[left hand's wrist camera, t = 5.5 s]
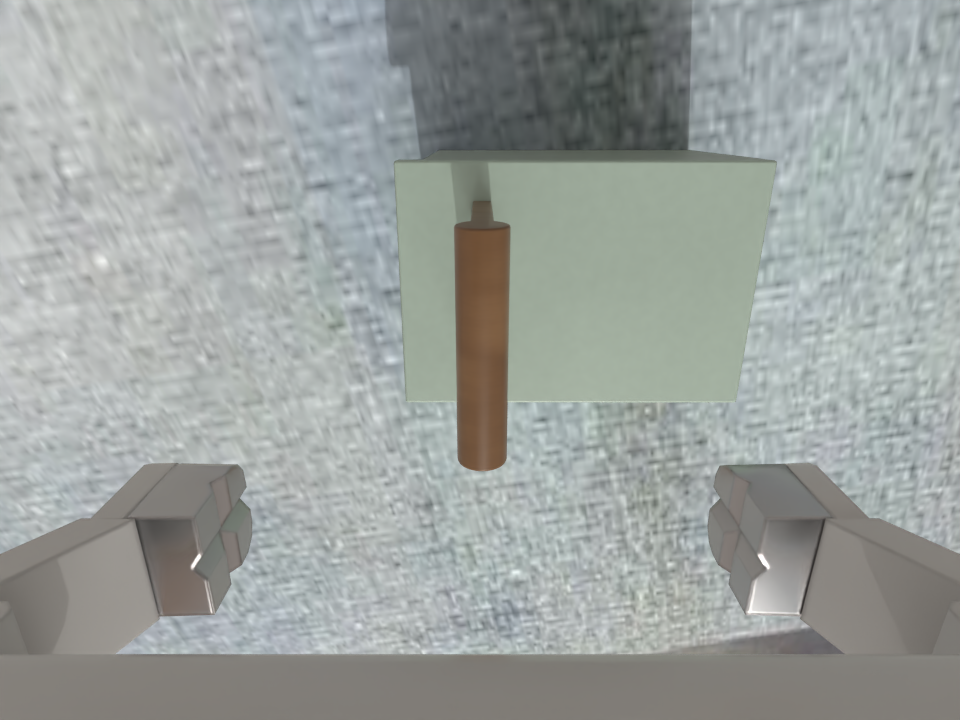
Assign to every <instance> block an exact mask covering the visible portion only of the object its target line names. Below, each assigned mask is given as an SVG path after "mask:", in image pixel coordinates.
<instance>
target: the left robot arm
mask: <svg viewBox="0 0 960 720" xmlns="http://www.w3.org/2000/svg"><path fill="white" fill-rule="evenodd" d="M245 489H246V482H245V477H244V472H243V470H242V469H241V467H240V466H239V465H234V464H183V463H181V464H178V463H152V464H147V465H144V466H143V467H142V468H141V469H140V470H139V471H138V472H137V473H136V474H135V475H134V476H133V477H132V478H131V479H130V480H129V481H128V482H127V483H126V484H125V485H124V486H123V487H122V488H121V489H120V490H119V491H118V492H117V493H116V494H115V495H114V496H113V497H112V498H111V499H110V500H109V501H108V502H107V503H106V504H105V505H104V506H103V507H102V508H101V509H100V510H99V511H98V512H97V513H96V514H95V515H94V516H93V517H92V518H82V519H79V520H76V521H74V522H72V523H69V524H67V525H65V526H63V527H60V528H58V529H56V530H54V531H51V532H49V533H47V534H45V535H42V536H40V537H38V538H36V539H33V540H31V541H29V542H27V543H24V544H22V545H20V546H18V547H15V548H13V549H11V550H8V551H6V552H4V553H2V554H0V720H960V554H958V553H956V552H954V551H951V550H949V549H947V548H945V547H942V546H940V545H938V544H936V543H933V542H931V541H929V540H927V539H924V538H922V537H920V536H918V535H915V534H913V533H911V532H909V531H906V530H904V529H902V528H900V527H897V526H895V525H893V524H890V523H888V522H886V521H884V520H881V519H879V518H868V517H867V516H866V515H865V514H864V513H863V512H862V511H861V510H860V509H859V508H858V507H857V506H856V505H855V504H854V503H853V502H852V501H851V500H850V499H849V498H848V497H847V496H846V495H845V494H844V493H843V492H842V491H841V490H840V489H839V488H838V487H837V486H836V485H835V484H834V483H833V482H832V481H831V480H830V479H829V478H828V477H827V476H826V475H825V474H824V473H823V472H822V471H821V470H820V469H819V468H818V467H817V466H816V465H813V464H811V463H790V464H755V465H723V466H719V468H718V471H717V473H716V476H715V481H714V489H715V490H716V492H717V493H718V495H719V497H720V499H719V500H718V501H717V502H716V503H715V504H714V505H713V506H712V507H711V508H710V511H709V519H708V537H709V544H710V547H711V551H712V554H713V556H714V558H715V560H716V562H717V564H718V565H719V566H721V567H722V568H724V569H725V570H727V571H728V572H730V573H731V574H730V579H729V586H730V588H731V589H732V591H733V593H734V595H735V597H736V598H737V600H738V602H739V604H740V606H741V607H742V609H743V611H744V613H745V615H769V616H801V618H800V619H801V620H802V621H804V622H805V623H806V624H807V625H809V626H810V627H811V628H813V629H814V630H815V631H816V632H818V633H819V634H820V635H822V636H823V637H824V638H825V639H827V640H828V641H829V642H830V643H832V644H833V645H834V646H836V647H837V648H838V649H839V650H841V651H842V652H843V653H844V654H116V653H117V652H118V651H120V650H121V649H122V648H123V647H125V646H126V645H127V644H129V643H130V642H131V641H132V640H134V639H135V638H136V637H137V636H139V635H140V634H141V633H143V632H144V631H145V630H146V629H148V628H149V627H150V626H151V625H153V624H154V623H155V622H157V621H158V620H159V619H160V618H159V616H190V615H215V613H216V611H217V609H218V608H219V606H220V604H221V602H222V600H223V598H224V597H225V595H226V593H227V591H228V589H229V588H230V586H231V579H230V574H229V573H230V572H232V571H233V570H235V569H236V568H238V567H239V566H241V565H242V564H243V562H244V560H245V558H246V556H247V554H248V551H249V547H250V542H251V538H252V517H251V511H250V508H249V507H248V506H247V505H246V504H245V503H244V502H243V501H242V500H241V499H240V497H241V495H242V493H243V492H244V490H245Z"/></svg>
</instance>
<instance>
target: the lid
mask: <svg viewBox="0 0 960 720" xmlns="http://www.w3.org/2000/svg"><path fill="white" fill-rule="evenodd" d="M776 165H777V162H776V161H775V160H767V159H732V160H397V161H395V162H394V175H395V195H396V214H397V234H398V254H399V274H400V293H401V313H402V333H403V353H404V372H405V392H406V401H407V402H457V446H458V461H459V462H460V464H461V465H462V466H464V467H466V468H468V469H471V470H475V471H489V470H494V469H497V468H499V467H501V466H502V465H503V464H504V463H505V461H506V458H507V405H508V402H735V401H736V397H737V391H738V385H739V380H740V374H741V368H742V362H743V356H744V351H745V345H746V339H747V333H748V327H749V322H750V316H751V310H752V304H753V298H754V293H755V287H756V281H757V275H758V269H759V264H760V258H761V252H762V246H763V240H764V235H765V229H766V223H767V217H768V211H769V206H770V200H771V194H772V188H773V182H774V177H775V171H776Z"/></svg>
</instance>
